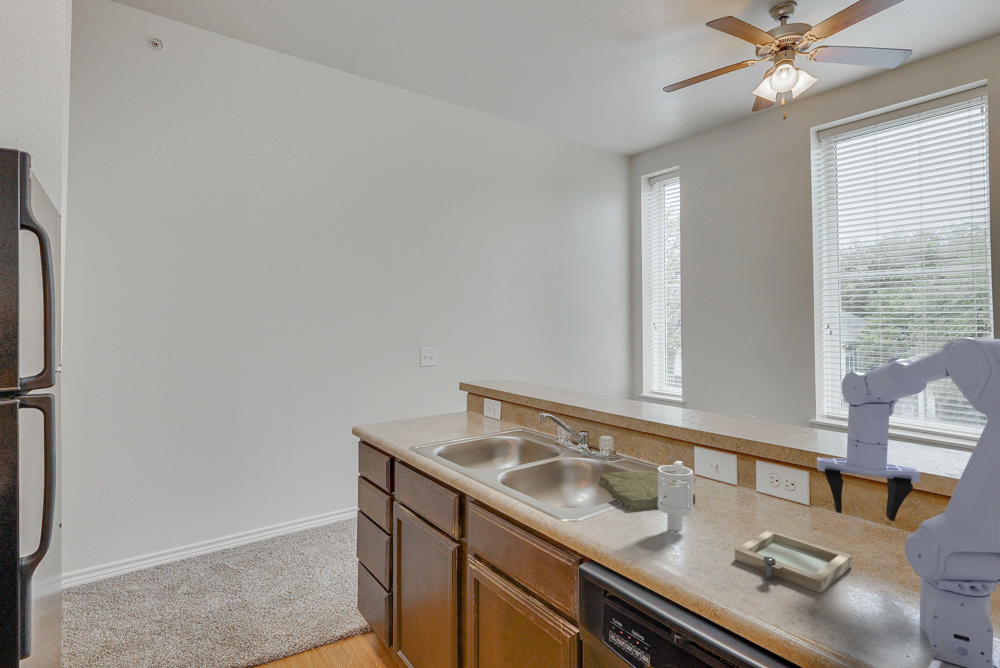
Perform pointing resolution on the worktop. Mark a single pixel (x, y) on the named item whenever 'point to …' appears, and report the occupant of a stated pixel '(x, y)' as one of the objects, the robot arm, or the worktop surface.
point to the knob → (769, 567)
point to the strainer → (675, 494)
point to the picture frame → (795, 559)
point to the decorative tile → (634, 488)
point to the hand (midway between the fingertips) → (863, 514)
